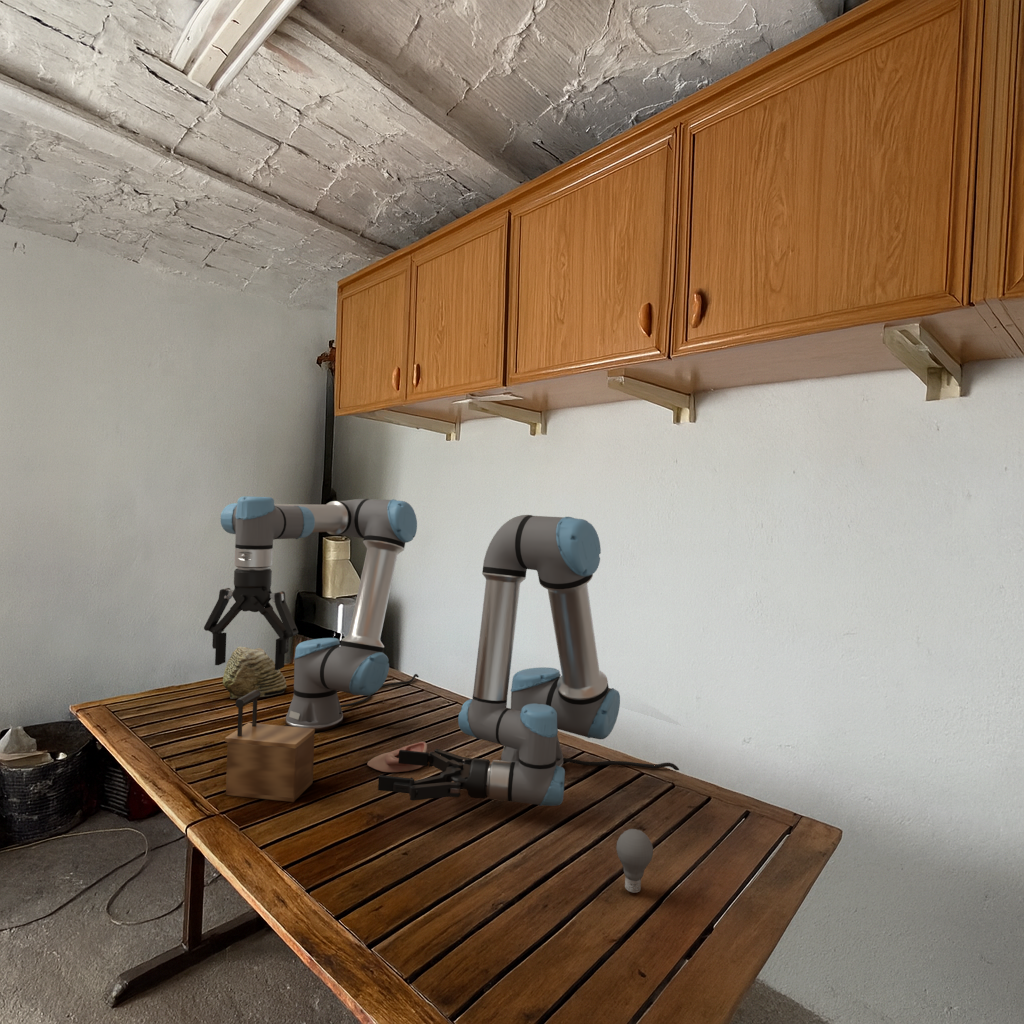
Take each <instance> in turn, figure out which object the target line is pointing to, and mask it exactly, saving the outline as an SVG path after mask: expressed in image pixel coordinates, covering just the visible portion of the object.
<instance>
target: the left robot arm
mask: <svg viewBox="0 0 1024 1024" xmlns="http://www.w3.org/2000/svg"><path fill="white" fill-rule="evenodd" d="M219 519H220V525H221V527H222V529H223V530H224V531H225V532H226V533H228V534H230V535H235V538H234V539H235V540H234V541H235V543H234V544H235V545H234V547H235V548H234V567H236V568H235V569H234V571H233V587H234V588H233V589H232V588H230V587H226V588H221V589H220V590H219V593H218V599H217V601H216V603H215V605H214V606H213V609H212V611H211V613H210V614H209V617H208V618H207V620H206V622H205V624H204V625H203V630H204V631H205V632H207V631H208V632H209V633H211V634H212V643H211V645H212V649H214V650H215V653H214V654H215V655H214V666H221V665H223V664H225V663H226V660H227V659H226V655H227V632H224V631H225V629H226V628H227V627H228V626H229V625H230V623H232V621H234V619H235V618H236V617H237V616H238V614H239V613H241V612H252V613H258V612H259V613H260V615H262V616H263V617H264V618H265V619H266V621H267V622H268V624H269V625H270V626H271V628H272V629H273V631H274V632H275V633H276V635H277V636H278V637H279V638H276V639H275V652H274V653H275V656H274V663H275V670H281V669H283V668H285V655H286V654H288V653H289V650H290V638H292V637H294V636H296V635H299V630H298V627H297V625H296V623H295V620H294V618H293V615H292V613H291V611H290V609H289V606H288V604H287V601H286V592H285V591H283V590H282V591H278V592H272V590H271V589H272V588H271V587H272V577H273V576H272V575H273V570H272V569H271V567H272V566H273V548H274V541H275V540H290V539H295V540H299V539H302V538H303V539H304V538H307V537H308V536H310V535H311V534H312V533H327V534H329V535H332V536H347V537H352V538H358V539H363V541H362V543H363V545H364V546H365V548H366V553H365V556H364V557H365V558H364V562H363V567H362V571H361V576H360V580H359V585H358V590H357V594H356V599H355V603H354V608H353V613H352V616H351V617H352V618H351V622H350V626H349V631H348V633H347V635H346V636H344V637H343V638H342V639H341V641H340V640H339V638H336V637H322V638H313V639H307V640H304V641H302V642H299V643H298V644H297V645H296V647H295V652H294V653H295V654H294V657H293V659H294V660H293V662H294V663H293V665H294V667H293V695H292V696H293V697H292V699H291V702H290V704H289V708H288V711H287V713H286V715H285V726H290V727H301V728H313V729H315V733H316V732H325V731H329V730H332V729H335V728H337V727H339V726H340V725H342V723H343V722H344V714H343V709H342V708H346V707H348V708H349V707H351V706H356V705H359V704H362V703H364V702H366V701H368V700H369V699H371V697H372V695H374V694H376V693H377V692H378V691H379V690H380V689H381V688H384V687H385V688H386V687H389V686H399V685H400V686H401V685H407V684H410V683H412V682H413V681H414V680H415V678H419V677H420V676H419V675H418V674H417V673H415V674H413V676H412V677H411V679H410V680H405V681H398V682H397V681H396V682H389V683H385V682H386V680H387V678H388V675H389V671H390V663H389V658H388V656H387V654H385V653H384V650H385V645H384V644H383V642H382V641H381V640H382V639H381V637H382V631H383V627H384V622H385V618H386V613H387V608H388V603H389V597H390V594H391V589H392V584H393V579H394V574H395V570H396V569H395V568H396V565H397V560H398V559H397V558H398V555H399V554H401V553H403V551H405V548H406V543H409V542H411V541H413V540H414V538H415V537H416V534H417V531H418V519H417V514H416V513H415V510H414V508H413V507H412V505H411V504H410V503H409V502H407V501H405V500H397V499H395V498H393V499H378V498H377V499H375V498H356V499H347V500H331V501H329V502H327V503H326V504H319V503H318V504H316V503H315V504H313V503H312V504H310V503H309V504H306V503H302V504H301V503H300V504H299V503H290V504H289V503H275V499H274V498H273V497H270V496H248V495H247V496H246V495H245V496H244V495H243V496H240V497H239V498H238V499H237V501H236V503H229V504H227V505H225V507H223V509H222V511H221V513H220V518H219ZM230 599H233V600H234V601H235V602H234V603H233V604H232V605H231V607H230V608H229V610H228V611H227V612H226V613H225V614H224V616H223V617H222V615H223V613H224V612H225V610H226V608H227V606H228V603H229V602H230ZM271 600H272V602H273V603H274V605H275V608H276V610H277V613H278V615H279V616H278V615H277V613H276V611H275V610H274V607H273V606H272V604H271V603H270V601H271ZM338 692H342V693H347V694H352V695H353V696H364V697H365V698H362V699H360V700H357V701H353V702H350V703H346V704H345V703H344V704H341V702H340V699H339V695H338Z"/></svg>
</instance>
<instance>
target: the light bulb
mask: <svg viewBox="0 0 1024 1024" xmlns="http://www.w3.org/2000/svg"><path fill="white" fill-rule="evenodd" d="M615 849H616V854H617V857H618V859H619V861H620V863H621V865H622V867H623V873H624V874H623V875H624V876H625V878H624V888H625V890H627V891H628V892H630V893H634V894H635V893H639V892H640V891H641V889H642V887H641V886H642V879H643V877H644V875H645V871H646V868H647V867H648V866H649V864H650V863H651V861H652V859H653V855H654V847H653V843H652V841H651V838H649V836H648V835H647V834H646V833H645V832H643V831H642V830H641V829H636V828H629V829H627V830H625V831H623V832H622V833H621V834H620V835H619V837H618V839H617V841H616V847H615Z"/></svg>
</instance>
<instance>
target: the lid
mask: <svg viewBox="0 0 1024 1024" xmlns="http://www.w3.org/2000/svg"><path fill="white" fill-rule="evenodd" d="M259 698H261V697H260V691H259V690H254V691H252V692H250V693H249V694H247V695H245V696H243V697H241V698H237V699H236V701H235V702H234V703H235V707H236V708H237V730H235V731H233V732H232V733H229V734H228V735H227V736H226V737H224V742H225V743H228V742H231V743H242V744H253V745H263V746H274V747H285V748H297V747H298V746H299V745H300V744H301V743H303V742H304V741H305V740H306V739H308V738H309V737H310V736H311V735H312V734H314V733H315V734H316V732H315V729H313V728H301V727H290V726H286V725H277V724H266V723H257V721H258V699H259ZM250 703H252V720H251V721H252V722H247V723H245V724H244V725H243V718H244V717H243V716H244V715H243V714H244V707H245V706H247V705H249V704H250Z"/></svg>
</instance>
